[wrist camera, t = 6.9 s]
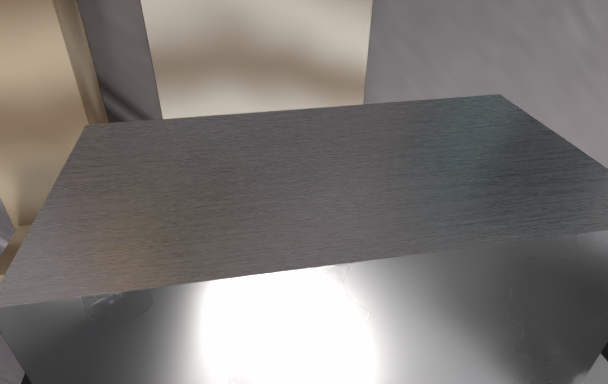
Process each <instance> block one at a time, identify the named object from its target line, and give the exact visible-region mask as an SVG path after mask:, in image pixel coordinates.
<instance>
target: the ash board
mask: <svg viewBox="0 0 608 384" xmlns="http://www.w3.org/2000/svg"><path fill="white" fill-rule="evenodd" d="M372 1H373V0H141V5H142V10H143V15H144V21H145V26H146V31H147V37H148V42H149V47H150V53H151V58H152V63H153V68H154V74H155V79H156V84H157V90H158V95H159V100H160V106H161V111H162V116H163V119H172V118H185V117H199V116H212V115H226V114H240V113H253V112H267V111H281V110H294V109H308V108H322V107H335V106H349V105H363V100H364V89H365V78H366V67H367V56H368V45H369V34H370V23H371V12H372Z"/></svg>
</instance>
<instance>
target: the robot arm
mask: <svg viewBox="0 0 608 384" xmlns="http://www.w3.org/2000/svg"><path fill="white" fill-rule="evenodd" d="M21 384H32V383H31V381H30V380H29V378H28V376H27V375H26V373H25V375H24V378H23V380H22V383H21ZM581 384H608V342H607V344H606V345H605V347H604V348H603V350H602V352H601V353H600V355H599V356H598V358H597V360H596V361H595V363H594V364H593V366H592V368H591V369H590V371H589V373H588V374H587V376H586V377H585V379H584V381H582V383H581Z"/></svg>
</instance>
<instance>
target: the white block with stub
mask: <svg viewBox="0 0 608 384" xmlns="http://www.w3.org/2000/svg"><path fill="white" fill-rule="evenodd" d="M0 332H1V334H2V335H3V337H4V339H5V340H6V342H7V344H8V345H9V347H10V349H11V350H12V352H13V353H14V355H15V357H16V358H17V360H18V362H19V363H20V365H21V367H22V368H23V370H24V371H25V373H26V375H27V376H28V378H29V380H30V381H31V383H32V384H581V383H582V381H584V379H585V377H586V376H587V374H588V373H589V371H590V369H591V368H592V366H593V364H594V363H595V361H596V360H597V358H598V356H599V355H600V353H601V352H602V350H603V348H604V347H605V345H606V344H607V342H608V169H607V168H606V167H604V166H603V165H601V164H600V163H598V162H597V161H596V160H594V159H593V158H591V157H590V156H588V155H587V154H585V153H584V152H583V151H581V150H580V149H578V148H577V147H575V146H574V145H572V144H571V143H569V142H568V141H567V140H565V139H564V138H562V137H561V136H559V135H558V134H556V133H555V132H554V131H552V130H551V129H549V128H548V127H546V126H545V125H543V124H542V123H540V122H539V121H538V120H536V119H535V118H533V117H532V116H530V115H529V114H527V113H526V112H525V111H523V110H522V109H520V108H519V107H517V106H516V105H514V104H513V103H512V102H510V101H509V100H507V99H506V98H504V97H503V96H501V95H500V94H499V95H485V96H472V97H458V98H444V99H431V100H417V101H403V102H390V103H376V104H363V105H349V106H335V107H322V108H308V109H294V110H281V111H267V112H253V113H240V114H226V115H212V116H199V117H185V118H172V119H158V120H144V121H131V122H117V123H103V124H90V125H86V126H85V127H84V129H83V131H82V133H81V135H80V137H79V139H78V140H77V142H76V144H75V146H74V148H73V150H72V152H71V153H70V155H69V157H68V159H67V161H66V163H65V165H64V166H63V168H62V170H61V172H60V174H59V176H58V177H57V179H56V181H55V183H54V185H53V187H52V189H51V190H50V192H49V194H48V196H47V198H46V200H45V202H44V203H43V205H42V207H41V209H40V211H39V213H38V215H37V216H36V218H35V220H34V222H33V224H32V226H31V227H30V229H29V231H28V233H27V235H26V237H25V239H24V240H23V242H22V244H21V246H20V248H19V250H18V252H17V253H16V255H15V257H14V259H13V261H12V263H11V265H10V266H9V268H8V270H7V272H6V274H5V276H4V278H3V279H2V281H1V283H0Z"/></svg>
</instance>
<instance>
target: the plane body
mask: <svg viewBox="0 0 608 384" xmlns="http://www.w3.org/2000/svg"><path fill="white" fill-rule="evenodd" d="M103 123H109V120H108V116H107V113H106V109H105V105H104V101H103V98H102V94H101V90H100V86H99V82H98V79H97V75H96V71H95V67H94V64H93V60H92V56H91V52H90V49H89V45H88V41H87V37H86V34H85V30H84V26H83V22H82V18H81V15H80V11H79V7H78V3H77V0H0V198H1V200H2V202H3V204H4V207H5V209H6V211H7V213H8V215H9V217H10V219H11V221H12V224H13V226H14V228H15V230H16V231H15V233H14V235H13V236H12V238H11V240H10V242H9V243H8V245H7V247H6V248H5V250H4V252H3V254H2V255H1V257H0V283H1V281H2V279H3V278H4V276H5V274H6V272H7V270H8V268H9V266H10V265H11V263H12V261H13V259H14V257H15V255H16V253H17V252H18V250H19V248H20V246H21V244H22V242H23V240H24V239H25V237H26V235H27V233H28V231H29V229H30V227H31V226H32V224H33V222H34V220H35V218H36V216H37V215H38V213H39V211H40V209H41V207H42V205H43V203H44V202H45V200H46V198H47V196H48V194H49V192H50V190H51V189H52V187H53V185H54V183H55V181H56V179H57V177H58V176H59V174H60V172H61V170H62V168H63V166H64V165H65V163H66V161H67V159H68V157H69V155H70V153H71V152H72V150H73V148H74V146H75V144H76V142H77V140H78V139H79V137H80V135H81V133H82V131H83V129H84V127H85V126H86V125H90V124H103Z"/></svg>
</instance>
